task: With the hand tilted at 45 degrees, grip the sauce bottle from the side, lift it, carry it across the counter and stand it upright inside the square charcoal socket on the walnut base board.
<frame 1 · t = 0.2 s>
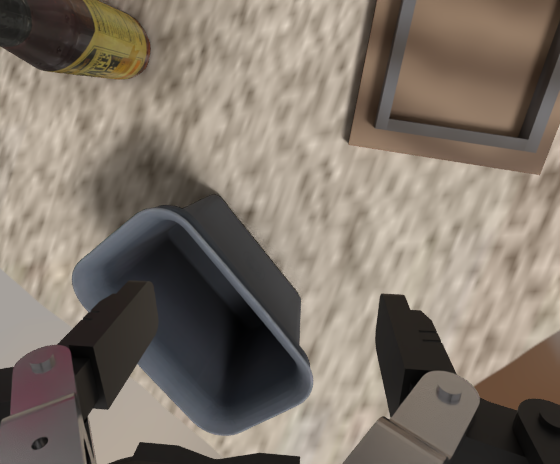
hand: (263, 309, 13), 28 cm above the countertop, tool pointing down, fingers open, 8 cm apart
socket board: (466, 59, 34), on the countertop
sauce bottle: (128, 47, 38), on the countertop
storage bin: (230, 269, 45), on the countertop
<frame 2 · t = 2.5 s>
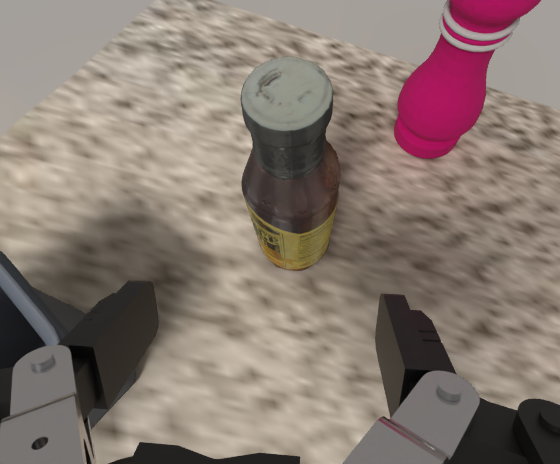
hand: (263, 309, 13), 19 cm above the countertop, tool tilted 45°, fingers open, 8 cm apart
sauce bottle: (295, 244, 34), on the countertop
storage bin: (26, 413, 30), on the countertop
pepper mill: (424, 134, 38), on the countertop
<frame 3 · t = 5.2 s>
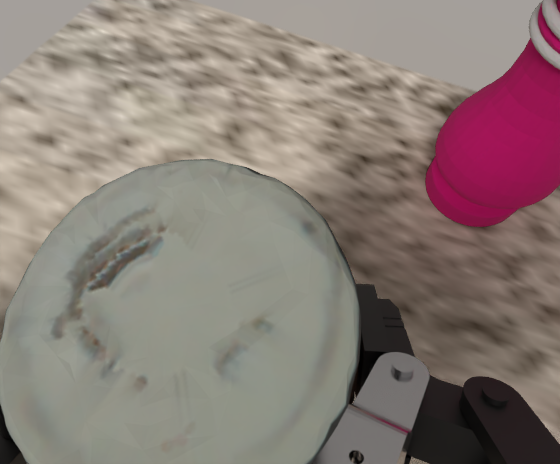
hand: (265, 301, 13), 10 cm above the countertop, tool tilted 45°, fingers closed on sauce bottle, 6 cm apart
sauce bottle: (280, 365, 23), on the countertop, touching gripper
pepper mill: (469, 188, 26), on the countertop
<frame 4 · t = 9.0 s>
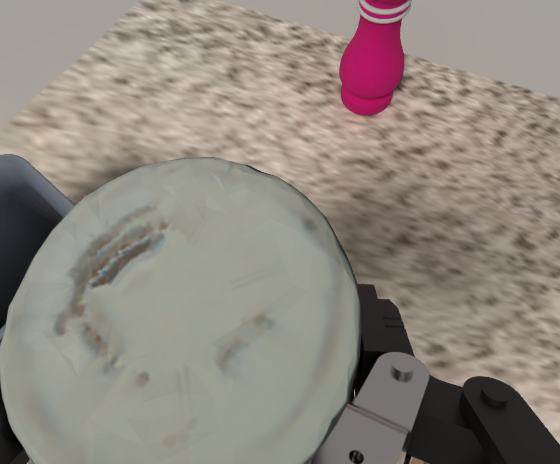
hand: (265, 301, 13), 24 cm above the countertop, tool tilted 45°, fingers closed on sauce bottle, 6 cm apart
sauce bottle: (280, 364, 23), point 14 cm above the countertop, touching gripper
storage bin: (54, 314, 40), on the countertop
pepper mill: (365, 97, 47), on the countertop
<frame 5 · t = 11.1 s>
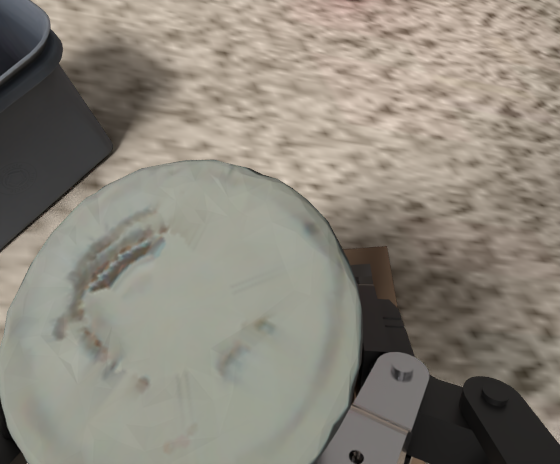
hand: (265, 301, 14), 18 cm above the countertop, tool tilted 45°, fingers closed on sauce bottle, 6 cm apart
socket board: (288, 366, 30), on the countertop
sauce bottle: (280, 365, 23), point 8 cm above the countertop, touching gripper
storage bin: (27, 178, 39), on the countertop
when the fingers open (13 cm above the countertop, at t = 12.6 s): sauce bottle stays where it is, resting on socket board.
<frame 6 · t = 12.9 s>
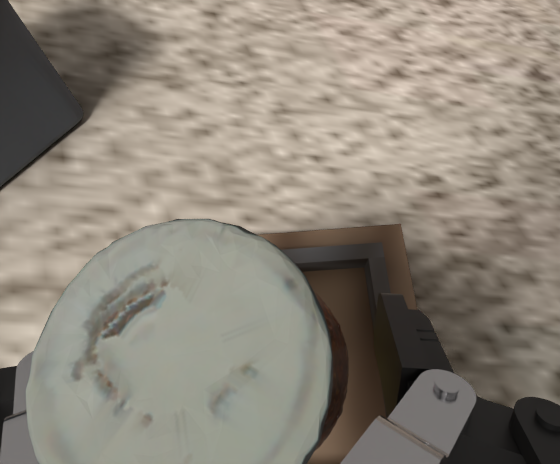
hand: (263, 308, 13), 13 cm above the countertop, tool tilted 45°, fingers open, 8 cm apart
socket board: (282, 367, 25), on the countertop
sauce bottle: (279, 369, 23), point 1 cm above the countertop, touching socket board
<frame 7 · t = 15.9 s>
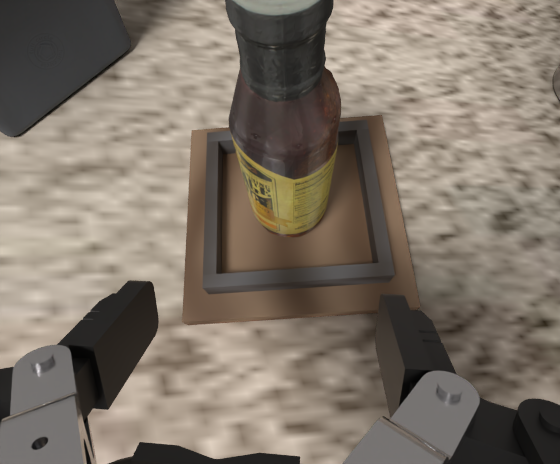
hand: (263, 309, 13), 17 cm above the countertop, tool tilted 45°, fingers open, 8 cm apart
socket board: (292, 215, 33), on the countertop
sauce bottle: (290, 211, 32), point 1 cm above the countertop, touching socket board
storage bin: (50, 73, 42), on the countertop
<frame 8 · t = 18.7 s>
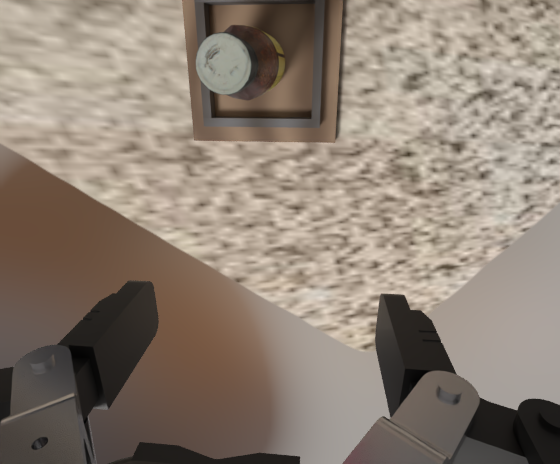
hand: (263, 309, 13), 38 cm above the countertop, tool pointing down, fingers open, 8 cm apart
socket board: (263, 64, 45), on the countertop
sauce bottle: (261, 65, 44), point 1 cm above the countertop, touching socket board
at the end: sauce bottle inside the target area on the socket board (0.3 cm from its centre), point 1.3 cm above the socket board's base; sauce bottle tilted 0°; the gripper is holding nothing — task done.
